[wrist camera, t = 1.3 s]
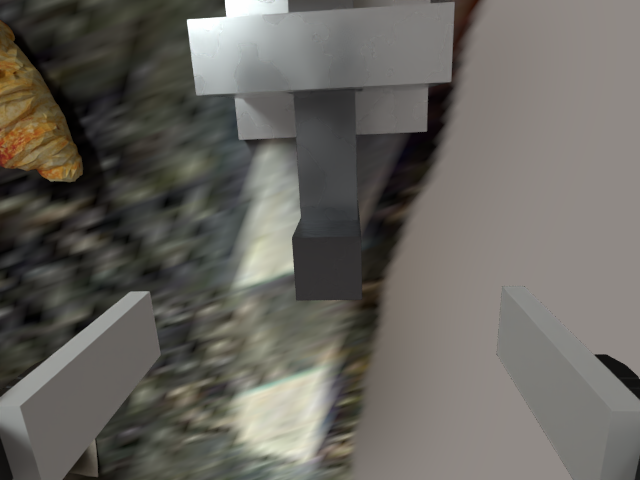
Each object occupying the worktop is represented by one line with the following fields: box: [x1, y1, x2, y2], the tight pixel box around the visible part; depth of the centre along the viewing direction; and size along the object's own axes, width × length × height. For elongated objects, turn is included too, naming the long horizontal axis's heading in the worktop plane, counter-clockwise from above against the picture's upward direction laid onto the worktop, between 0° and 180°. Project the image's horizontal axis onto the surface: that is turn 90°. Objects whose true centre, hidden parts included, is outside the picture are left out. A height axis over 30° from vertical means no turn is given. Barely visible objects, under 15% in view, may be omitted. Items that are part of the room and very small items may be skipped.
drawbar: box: [288, 0, 362, 300], centre depth 21 cm, size 23×3×8 cm, turn 3°
